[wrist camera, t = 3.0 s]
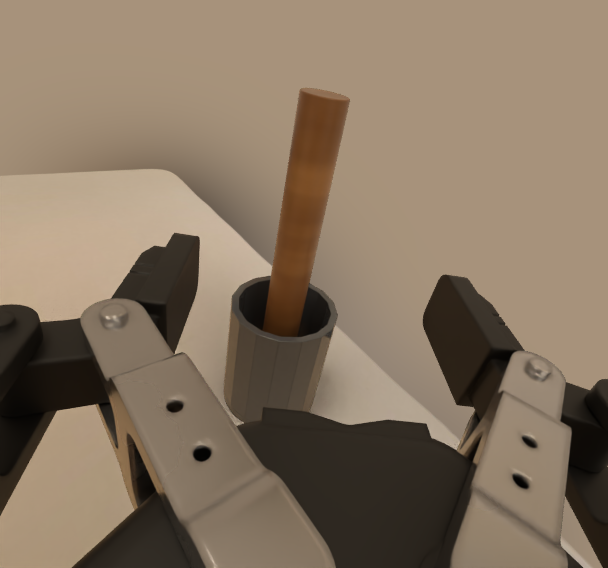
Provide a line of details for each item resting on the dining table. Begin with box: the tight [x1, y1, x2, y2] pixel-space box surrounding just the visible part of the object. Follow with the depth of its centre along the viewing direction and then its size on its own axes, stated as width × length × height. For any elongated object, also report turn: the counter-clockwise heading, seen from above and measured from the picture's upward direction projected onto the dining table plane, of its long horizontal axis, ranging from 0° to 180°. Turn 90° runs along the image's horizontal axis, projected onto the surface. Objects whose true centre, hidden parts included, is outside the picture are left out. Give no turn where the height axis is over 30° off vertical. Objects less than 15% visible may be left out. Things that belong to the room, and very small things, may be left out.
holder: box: [224, 276, 338, 423], centre depth 29 cm, size 7×7×9 cm
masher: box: [263, 88, 350, 337], centre depth 25 cm, size 5×5×22 cm
